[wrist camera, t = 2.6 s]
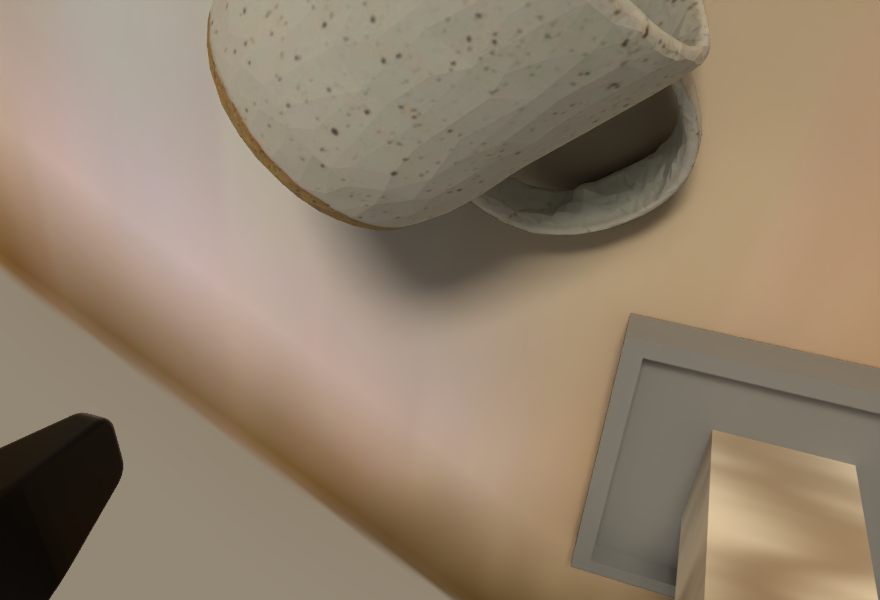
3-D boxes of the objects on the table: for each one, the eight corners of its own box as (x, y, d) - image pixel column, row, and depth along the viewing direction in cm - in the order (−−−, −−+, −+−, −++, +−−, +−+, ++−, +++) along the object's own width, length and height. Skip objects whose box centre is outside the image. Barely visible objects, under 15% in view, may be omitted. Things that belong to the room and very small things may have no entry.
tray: (1023, 400, 20) (1037, 430, 19) (877, 629, 26) (882, 661, 25) (630, 313, 22) (625, 336, 21) (576, 540, 28) (570, 566, 27)
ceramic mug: (285, -39, 20) (90, 38, 14) (523, -314, 16) (387, -375, 9) (531, 259, 23) (456, 433, 17) (798, 100, 18) (829, 260, 12)
